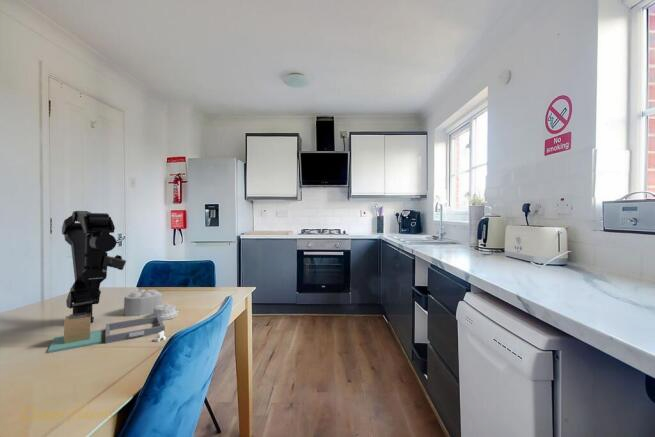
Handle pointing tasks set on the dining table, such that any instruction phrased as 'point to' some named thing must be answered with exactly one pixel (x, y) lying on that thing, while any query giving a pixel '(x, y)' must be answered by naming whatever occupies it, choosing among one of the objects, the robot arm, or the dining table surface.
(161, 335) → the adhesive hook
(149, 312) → the lumpy-topped squat cylinder
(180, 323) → the dining table surface
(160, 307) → the mechanical component
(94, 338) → the service mat
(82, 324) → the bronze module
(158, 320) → the grey tapered frame
